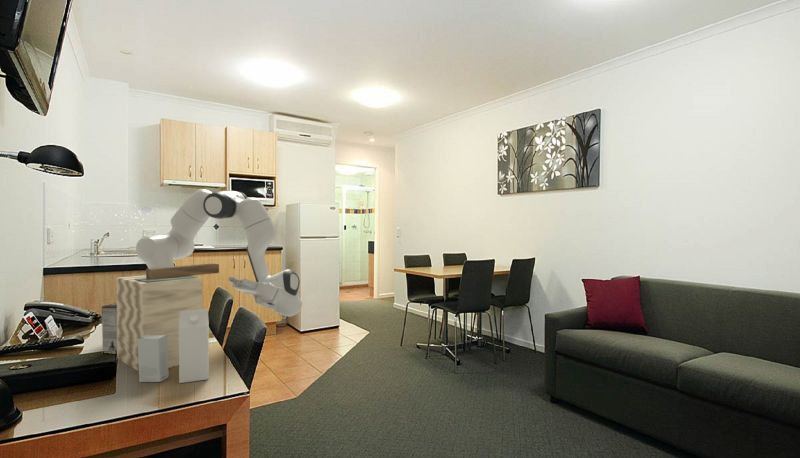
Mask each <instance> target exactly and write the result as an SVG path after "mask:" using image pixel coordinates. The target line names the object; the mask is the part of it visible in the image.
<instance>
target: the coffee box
mask: <svg viewBox="0 0 800 458" xmlns="http://www.w3.org/2000/svg"><path fill="white" fill-rule="evenodd" d="M101 326H102V327H101V328H102V329H101V331H102V352H103V351H111V350H116V351H117V302H115V303H112V304H106V305H102V306H101Z"/></svg>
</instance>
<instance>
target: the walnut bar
mask: <svg viewBox="0 0 800 458" xmlns="http://www.w3.org/2000/svg"><path fill="white" fill-rule="evenodd" d="M219 273H220V264H219V263H202V264H191V265H178V266H177V265H176V266H175V265H174V267H161V268H148V267H147V268H146V269H145V275H146V278H147V279H162V278H172V277H182V276H202V275H203V276H204V275H211V274H219Z"/></svg>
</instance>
